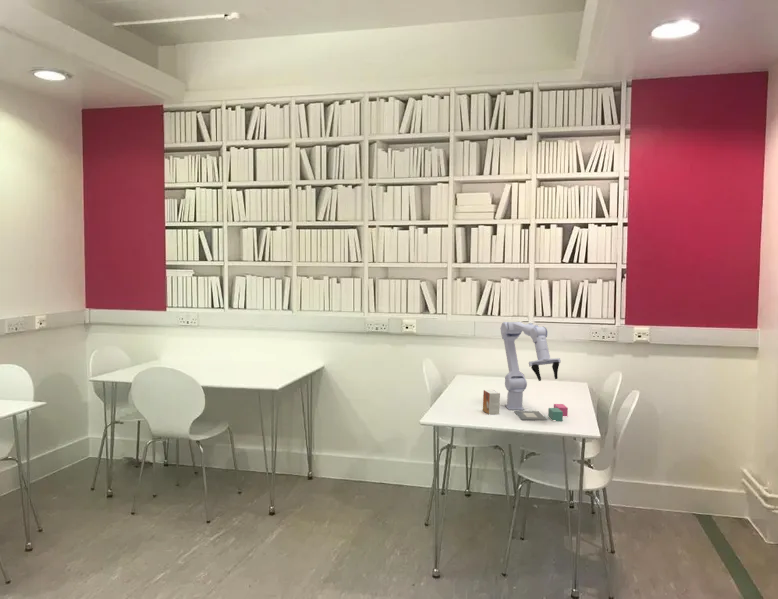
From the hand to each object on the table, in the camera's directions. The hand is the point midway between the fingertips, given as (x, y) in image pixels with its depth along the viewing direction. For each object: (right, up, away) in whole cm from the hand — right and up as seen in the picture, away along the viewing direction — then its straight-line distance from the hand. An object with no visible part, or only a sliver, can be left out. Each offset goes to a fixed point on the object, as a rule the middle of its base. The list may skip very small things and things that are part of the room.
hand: (548, 379), depth 289 cm
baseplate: (-5, -19, +12) cm, 24 cm away
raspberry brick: (+10, -20, +18) cm, 28 cm away
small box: (-24, -19, +18) cm, 35 cm away
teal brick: (+6, -20, +9) cm, 22 cm away
